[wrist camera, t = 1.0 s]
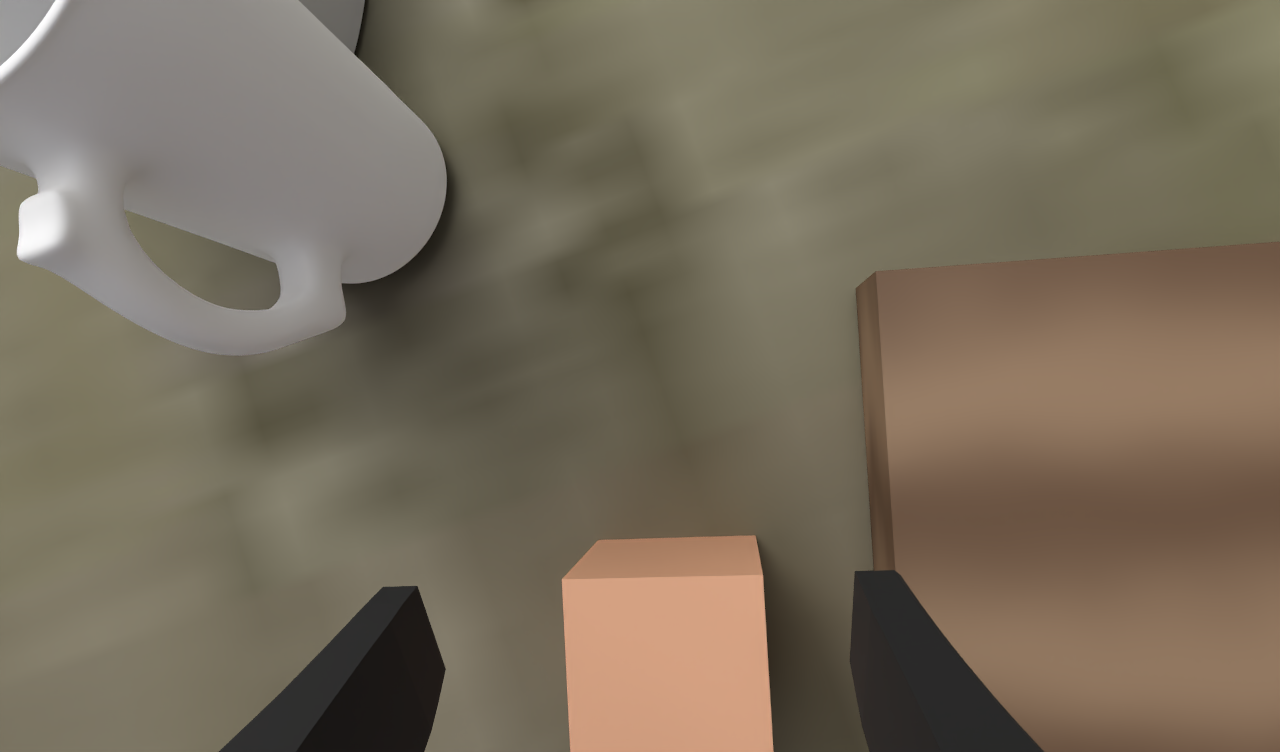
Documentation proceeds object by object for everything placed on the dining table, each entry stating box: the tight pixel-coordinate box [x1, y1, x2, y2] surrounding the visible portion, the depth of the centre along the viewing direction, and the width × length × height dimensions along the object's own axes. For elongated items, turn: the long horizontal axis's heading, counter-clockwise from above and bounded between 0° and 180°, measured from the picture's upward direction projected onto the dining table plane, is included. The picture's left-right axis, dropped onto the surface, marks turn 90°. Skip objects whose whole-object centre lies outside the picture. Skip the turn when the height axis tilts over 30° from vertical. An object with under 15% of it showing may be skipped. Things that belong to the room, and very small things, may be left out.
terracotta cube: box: [562, 535, 773, 752], centre depth 20 cm, size 5×5×5 cm
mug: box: [0, 0, 447, 355], centre depth 17 cm, size 10×7×12 cm, turn 14°
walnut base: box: [856, 242, 1280, 752], centre depth 19 cm, size 14×14×3 cm
